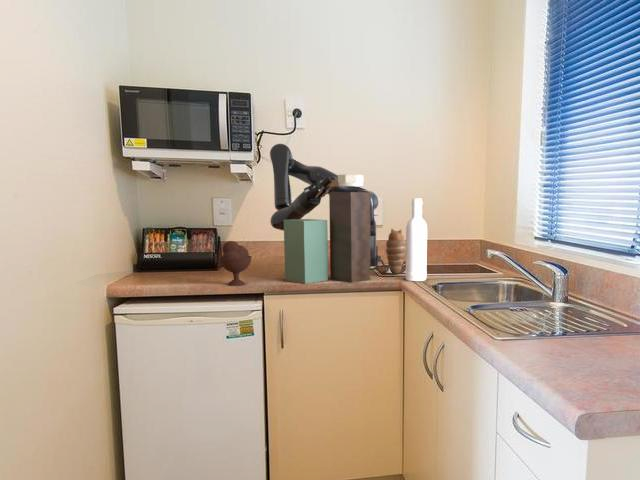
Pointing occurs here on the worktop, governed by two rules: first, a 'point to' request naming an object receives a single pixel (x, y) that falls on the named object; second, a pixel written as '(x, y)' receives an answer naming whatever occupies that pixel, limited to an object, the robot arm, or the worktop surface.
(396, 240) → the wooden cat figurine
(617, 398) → the worktop surface
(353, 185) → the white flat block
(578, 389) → the worktop surface
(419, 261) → the bottle
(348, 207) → the stand
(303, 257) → the box
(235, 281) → the ice cream bowl
